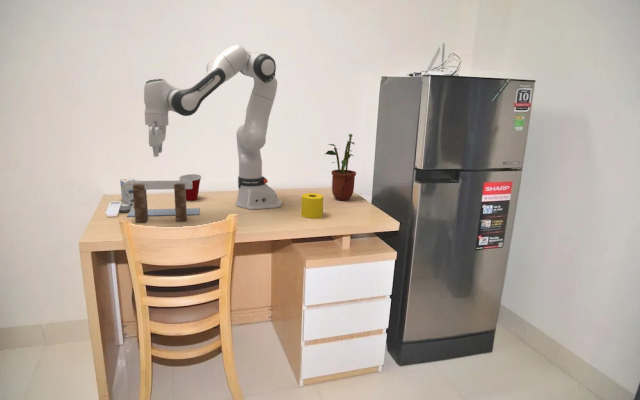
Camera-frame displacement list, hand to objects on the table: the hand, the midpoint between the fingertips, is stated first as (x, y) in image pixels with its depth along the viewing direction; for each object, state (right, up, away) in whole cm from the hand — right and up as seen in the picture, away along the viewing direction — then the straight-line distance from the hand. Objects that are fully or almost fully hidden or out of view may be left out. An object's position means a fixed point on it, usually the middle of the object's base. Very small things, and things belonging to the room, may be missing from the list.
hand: (157, 154), depth 172 cm
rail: (0, -14, +3) cm, 14 cm away
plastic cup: (+2, -19, +39) cm, 44 cm away
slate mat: (-3, -25, +16) cm, 30 cm away
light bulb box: (-24, -20, +30) cm, 44 cm away
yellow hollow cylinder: (+63, -26, +23) cm, 72 cm away
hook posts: (-1, -27, +7) cm, 28 cm away
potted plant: (+77, -19, +52) cm, 94 cm away
